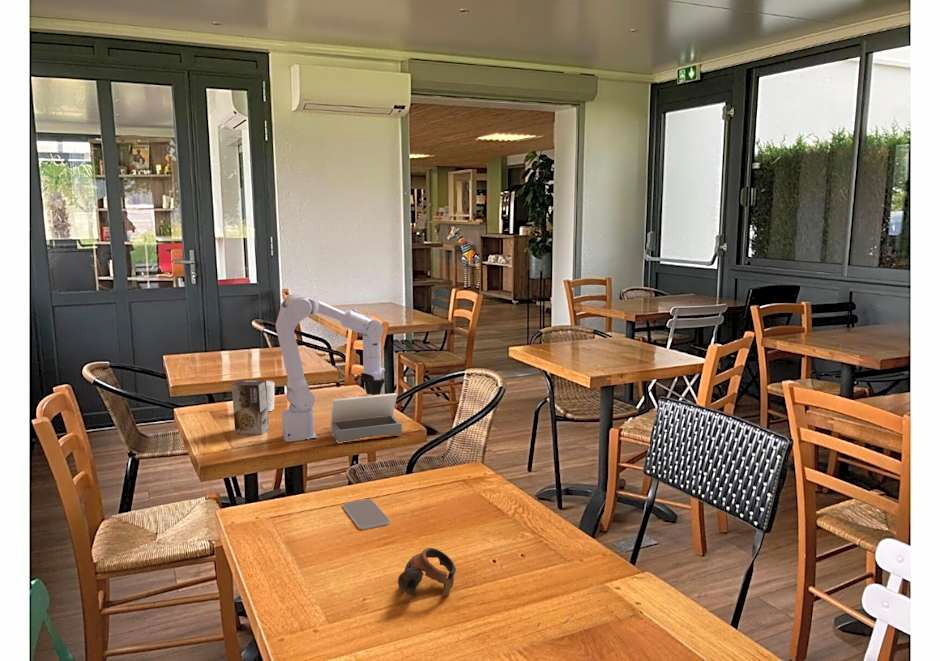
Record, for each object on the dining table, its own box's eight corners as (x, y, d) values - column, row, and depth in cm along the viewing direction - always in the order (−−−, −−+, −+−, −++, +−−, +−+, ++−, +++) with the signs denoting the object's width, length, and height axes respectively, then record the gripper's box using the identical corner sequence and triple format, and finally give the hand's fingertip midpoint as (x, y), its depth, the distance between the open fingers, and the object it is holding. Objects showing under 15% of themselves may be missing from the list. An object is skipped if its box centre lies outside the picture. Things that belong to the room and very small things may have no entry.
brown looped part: (414, 573, 137) (435, 540, 136) (447, 608, 133) (469, 574, 131) (376, 585, 127) (398, 549, 125) (410, 623, 122) (434, 586, 121)
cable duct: (337, 443, 213) (337, 431, 212) (331, 434, 222) (331, 422, 222) (401, 436, 220) (401, 423, 220) (393, 427, 229) (392, 415, 229)
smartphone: (371, 498, 171) (391, 521, 158) (371, 501, 171) (392, 525, 158) (341, 503, 168) (359, 528, 155) (341, 507, 168) (359, 531, 155)
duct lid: (333, 401, 215) (333, 397, 216) (331, 421, 222) (330, 418, 222) (397, 394, 222) (396, 391, 223) (392, 415, 229) (391, 411, 230)
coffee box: (269, 428, 228) (267, 380, 226) (261, 434, 222) (259, 384, 219) (242, 427, 229) (239, 379, 227) (234, 433, 223) (231, 384, 220)
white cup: (251, 409, 251) (249, 382, 249) (273, 406, 254) (272, 379, 253) (254, 415, 244) (252, 386, 242) (277, 412, 247) (276, 384, 245)
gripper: (389, 359, 222) (390, 401, 225) (378, 351, 236) (379, 390, 238) (367, 361, 220) (368, 403, 222) (357, 352, 233) (358, 392, 235)
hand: (372, 397), depth 230 cm, fingers open, 7 cm apart
